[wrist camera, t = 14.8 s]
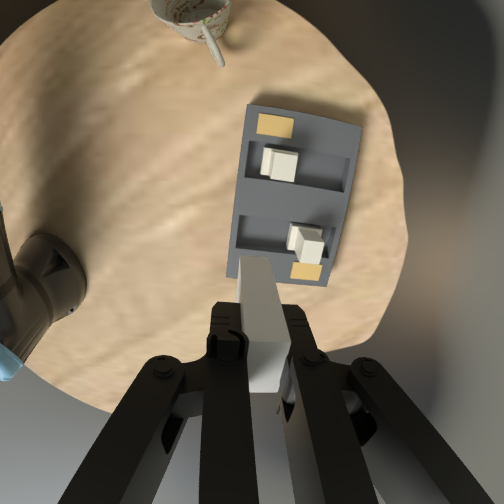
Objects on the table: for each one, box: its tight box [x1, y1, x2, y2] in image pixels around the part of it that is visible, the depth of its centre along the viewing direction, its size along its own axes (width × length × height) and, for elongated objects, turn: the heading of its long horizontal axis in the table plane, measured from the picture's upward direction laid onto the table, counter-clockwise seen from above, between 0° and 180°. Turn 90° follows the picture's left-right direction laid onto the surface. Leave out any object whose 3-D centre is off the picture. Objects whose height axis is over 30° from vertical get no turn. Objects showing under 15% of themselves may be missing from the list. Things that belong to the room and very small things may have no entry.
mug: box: [150, 0, 232, 67], centre depth 22 cm, size 8×13×10 cm, turn 23°
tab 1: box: [260, 147, 298, 182], centre depth 30 cm, size 4×3×6 cm
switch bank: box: [226, 104, 362, 287], centre depth 34 cm, size 14×22×3 cm, turn 172°
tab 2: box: [286, 222, 325, 265], centre depth 34 cm, size 4×3×6 cm
